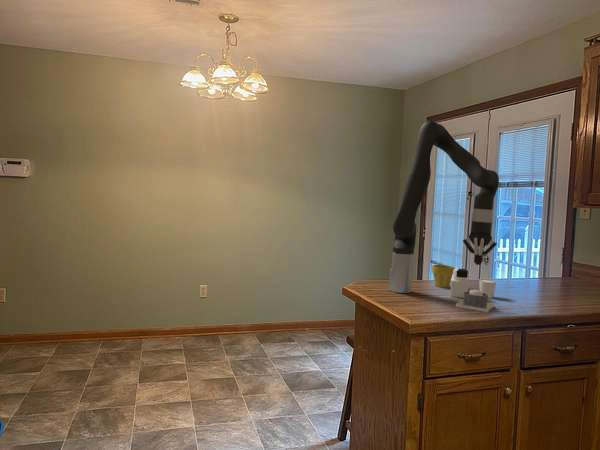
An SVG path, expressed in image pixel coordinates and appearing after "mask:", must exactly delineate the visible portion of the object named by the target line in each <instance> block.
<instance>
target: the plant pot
mask: <svg viewBox="0 0 600 450" xmlns="http://www.w3.org/2000/svg"><path fill="white" fill-rule="evenodd" d="M454 269H455V267H454V266H451V265H446V264H432V265H431V273H432V275H433V281H434V286H435V287H438V288H450V287H451V279H452V278H453V270H454Z"/></svg>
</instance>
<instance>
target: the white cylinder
mask: <svg viewBox="0 0 600 450" xmlns="http://www.w3.org/2000/svg"><path fill="white" fill-rule="evenodd" d="M478 283H479V285H478V286H479V291H482V292H483V293H485V294H487V295H488V299H493V298H494V296H495V295H494V294H495V289H496V284H497V282H496V281H493V280H489V279H479V282H478Z"/></svg>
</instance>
